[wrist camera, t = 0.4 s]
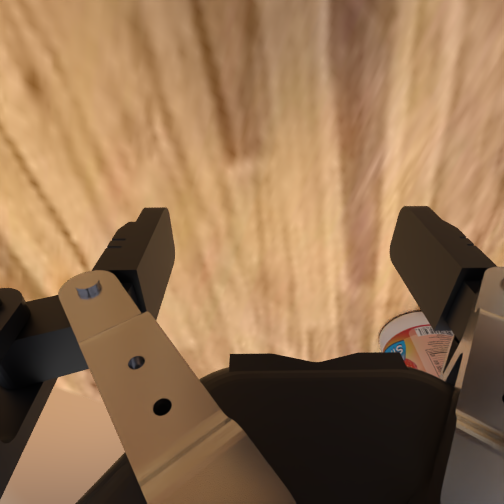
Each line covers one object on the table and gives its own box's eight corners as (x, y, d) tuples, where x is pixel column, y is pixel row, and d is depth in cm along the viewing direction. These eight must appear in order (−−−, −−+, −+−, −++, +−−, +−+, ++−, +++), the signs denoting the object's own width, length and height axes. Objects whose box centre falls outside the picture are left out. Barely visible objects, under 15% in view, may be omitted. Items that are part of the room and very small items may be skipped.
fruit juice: (452, 344, 46) (638, 666, 24) (384, 360, 48) (494, 666, 26) (446, 300, 41) (677, 659, 19) (370, 320, 43) (494, 660, 21)
